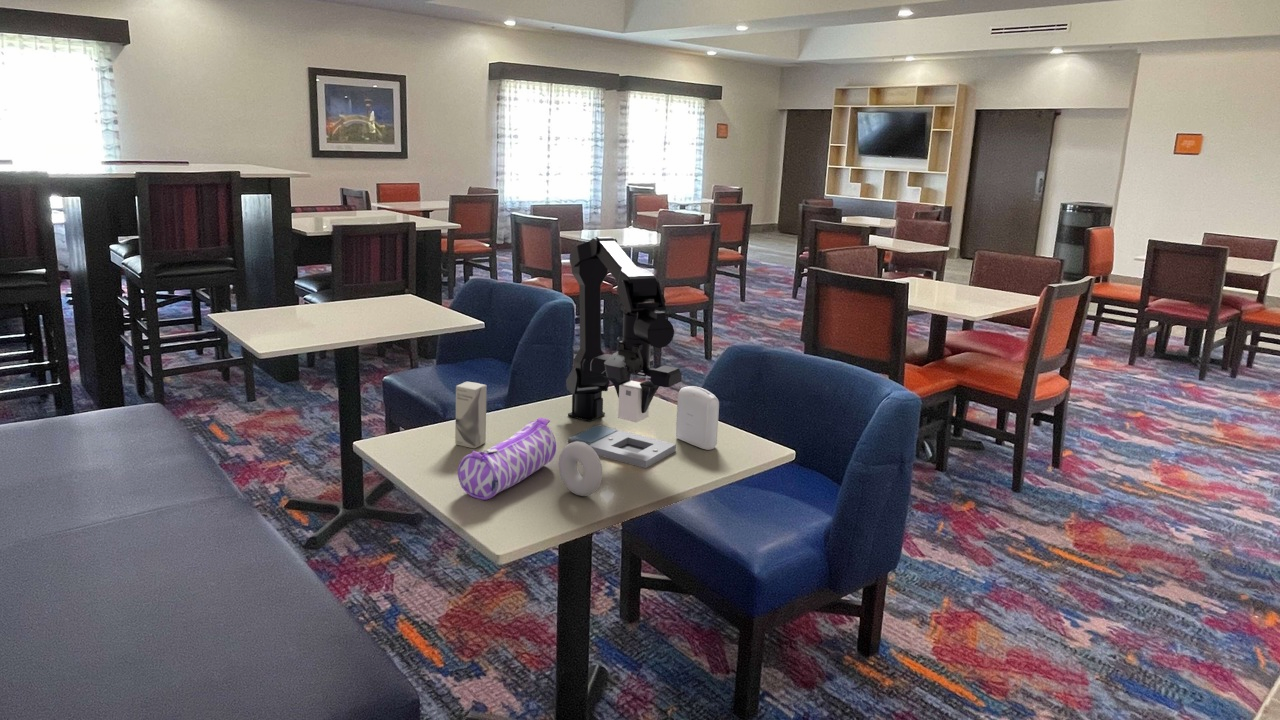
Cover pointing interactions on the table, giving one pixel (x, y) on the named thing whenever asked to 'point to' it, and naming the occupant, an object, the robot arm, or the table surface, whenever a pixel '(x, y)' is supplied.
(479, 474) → the pencil case
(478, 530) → the table surface
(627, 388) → the block
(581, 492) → the donut
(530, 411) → the table surface
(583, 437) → the phone
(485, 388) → the box
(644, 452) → the outlet plate
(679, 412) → the photo printer
